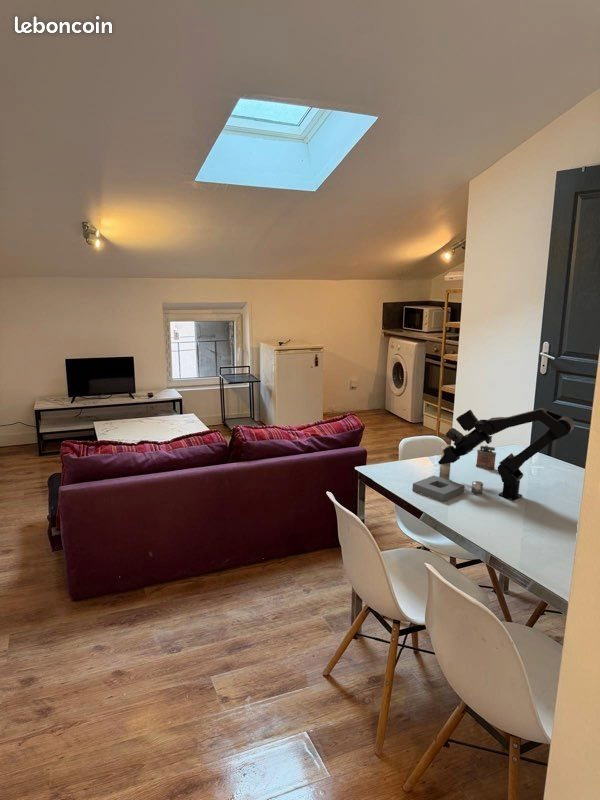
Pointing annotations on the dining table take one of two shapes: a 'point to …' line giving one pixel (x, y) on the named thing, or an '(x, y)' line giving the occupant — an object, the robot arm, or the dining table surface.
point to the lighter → (486, 458)
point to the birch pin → (444, 467)
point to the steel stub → (477, 487)
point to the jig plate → (438, 488)
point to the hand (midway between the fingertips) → (443, 460)
